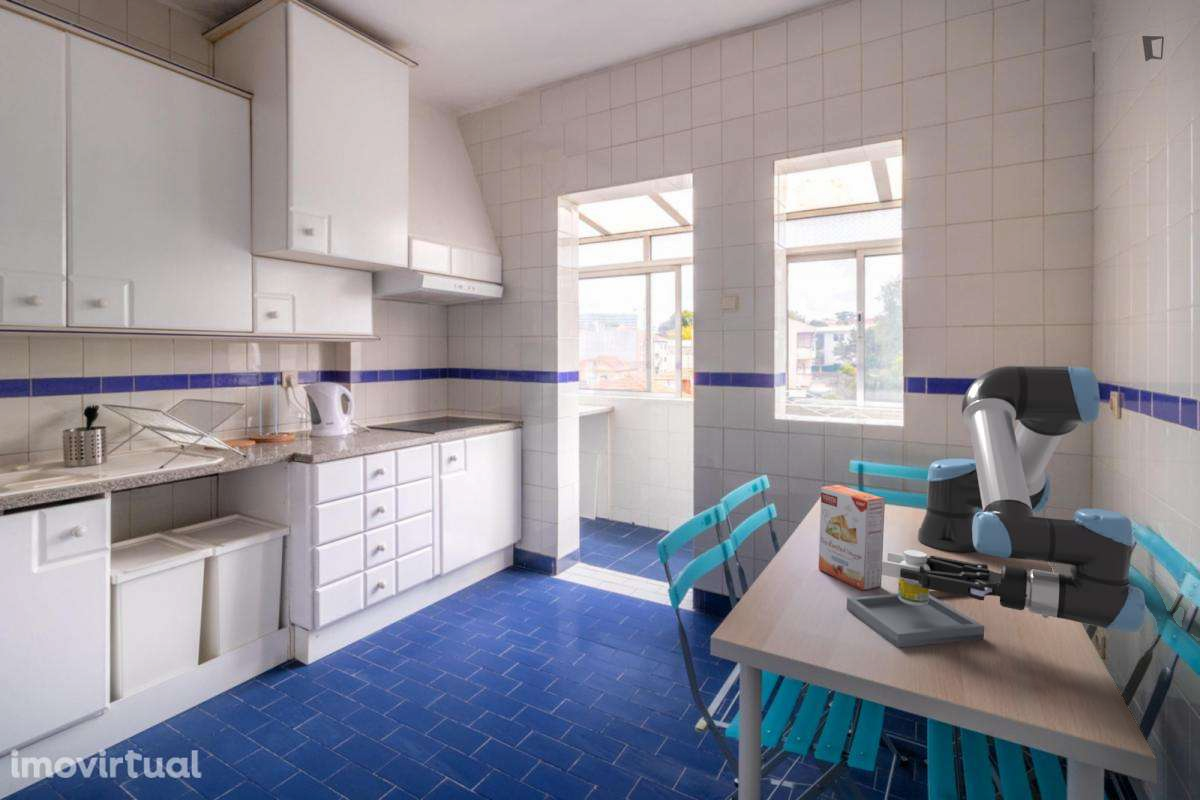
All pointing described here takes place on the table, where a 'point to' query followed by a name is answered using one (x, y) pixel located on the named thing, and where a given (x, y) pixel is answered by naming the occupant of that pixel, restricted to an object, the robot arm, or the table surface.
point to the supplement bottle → (910, 589)
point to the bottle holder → (940, 593)
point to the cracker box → (851, 536)
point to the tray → (914, 620)
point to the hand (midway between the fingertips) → (885, 563)
